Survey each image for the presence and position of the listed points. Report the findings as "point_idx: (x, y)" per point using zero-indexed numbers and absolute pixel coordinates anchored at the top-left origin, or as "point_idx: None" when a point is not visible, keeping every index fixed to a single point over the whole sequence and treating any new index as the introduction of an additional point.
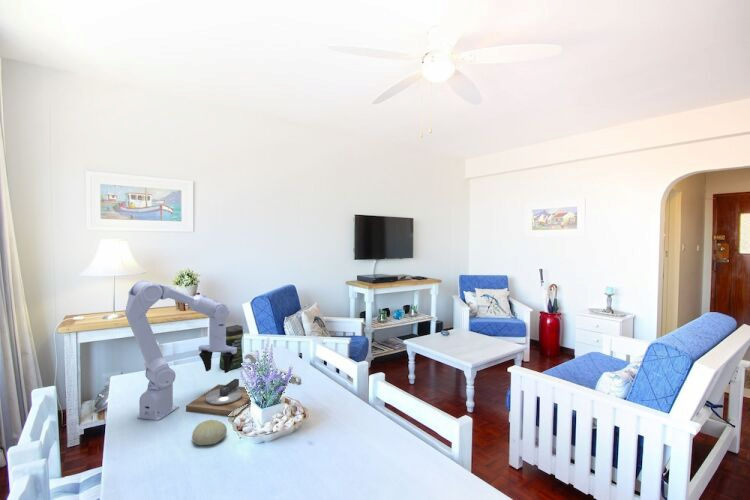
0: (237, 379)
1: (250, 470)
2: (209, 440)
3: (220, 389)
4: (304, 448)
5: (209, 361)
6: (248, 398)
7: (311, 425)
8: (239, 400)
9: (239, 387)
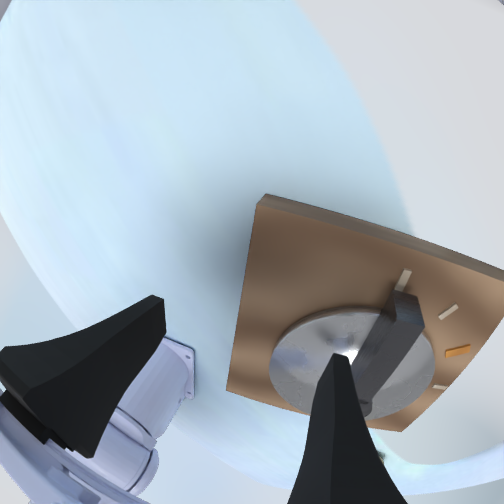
0: (415, 331)
1: (417, 484)
2: None
3: None
4: (495, 457)
5: (117, 358)
6: (453, 375)
7: None
8: None
9: (415, 265)
